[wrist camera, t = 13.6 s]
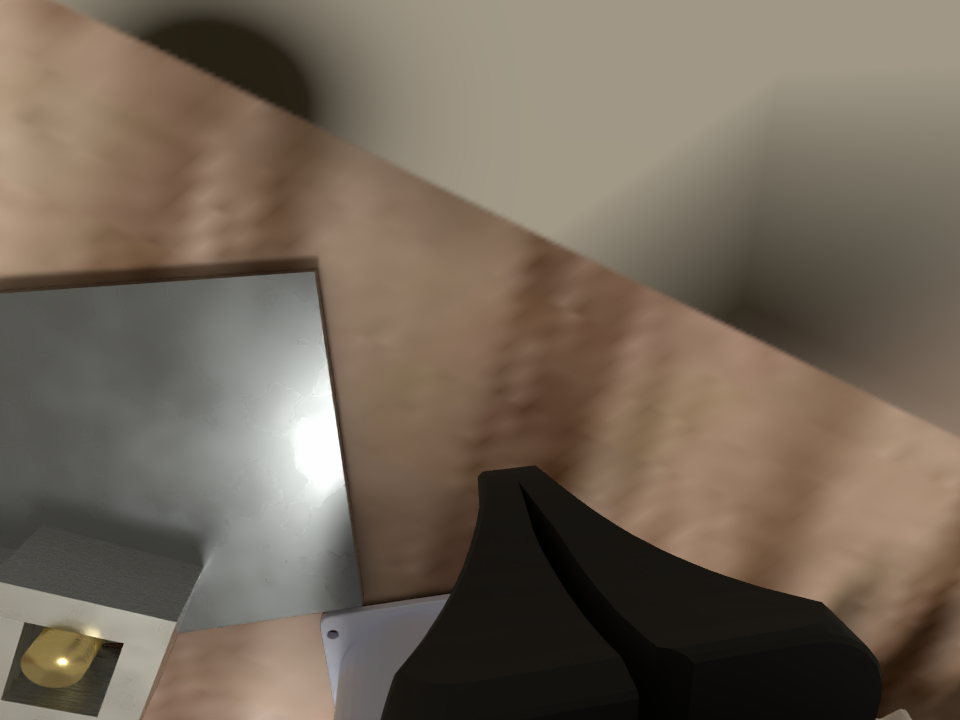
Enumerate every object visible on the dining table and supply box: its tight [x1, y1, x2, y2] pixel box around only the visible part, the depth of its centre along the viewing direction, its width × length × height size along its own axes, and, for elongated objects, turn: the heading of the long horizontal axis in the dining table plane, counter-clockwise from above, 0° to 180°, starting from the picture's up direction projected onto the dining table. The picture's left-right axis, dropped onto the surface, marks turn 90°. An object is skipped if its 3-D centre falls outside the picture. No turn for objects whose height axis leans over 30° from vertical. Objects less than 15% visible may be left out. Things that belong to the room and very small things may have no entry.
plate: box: [0, 268, 364, 644], centre depth 21 cm, size 15×23×1 cm, turn 93°
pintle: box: [21, 627, 106, 688], centre depth 21 cm, size 2×2×4 cm
